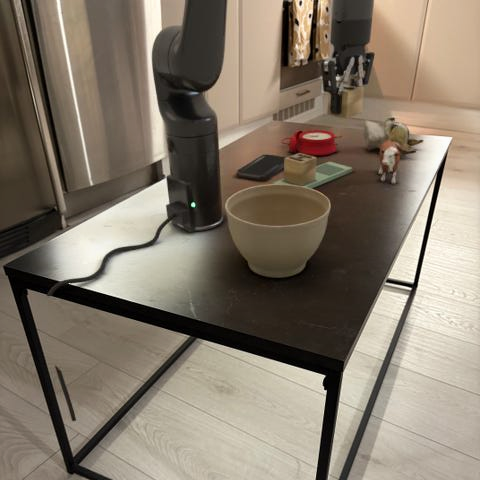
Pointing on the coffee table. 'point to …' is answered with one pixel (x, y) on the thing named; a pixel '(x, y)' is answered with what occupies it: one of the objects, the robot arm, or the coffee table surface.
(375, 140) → the ceramic sculpture
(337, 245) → the coffee table surface
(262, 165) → the phone
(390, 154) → the bull figurine
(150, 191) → the coffee table surface
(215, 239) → the coffee table surface
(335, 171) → the word board
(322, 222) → the planter bowl
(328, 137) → the alarm clock
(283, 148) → the coffee table surface
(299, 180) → the light wooden block
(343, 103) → the slotted coin box
